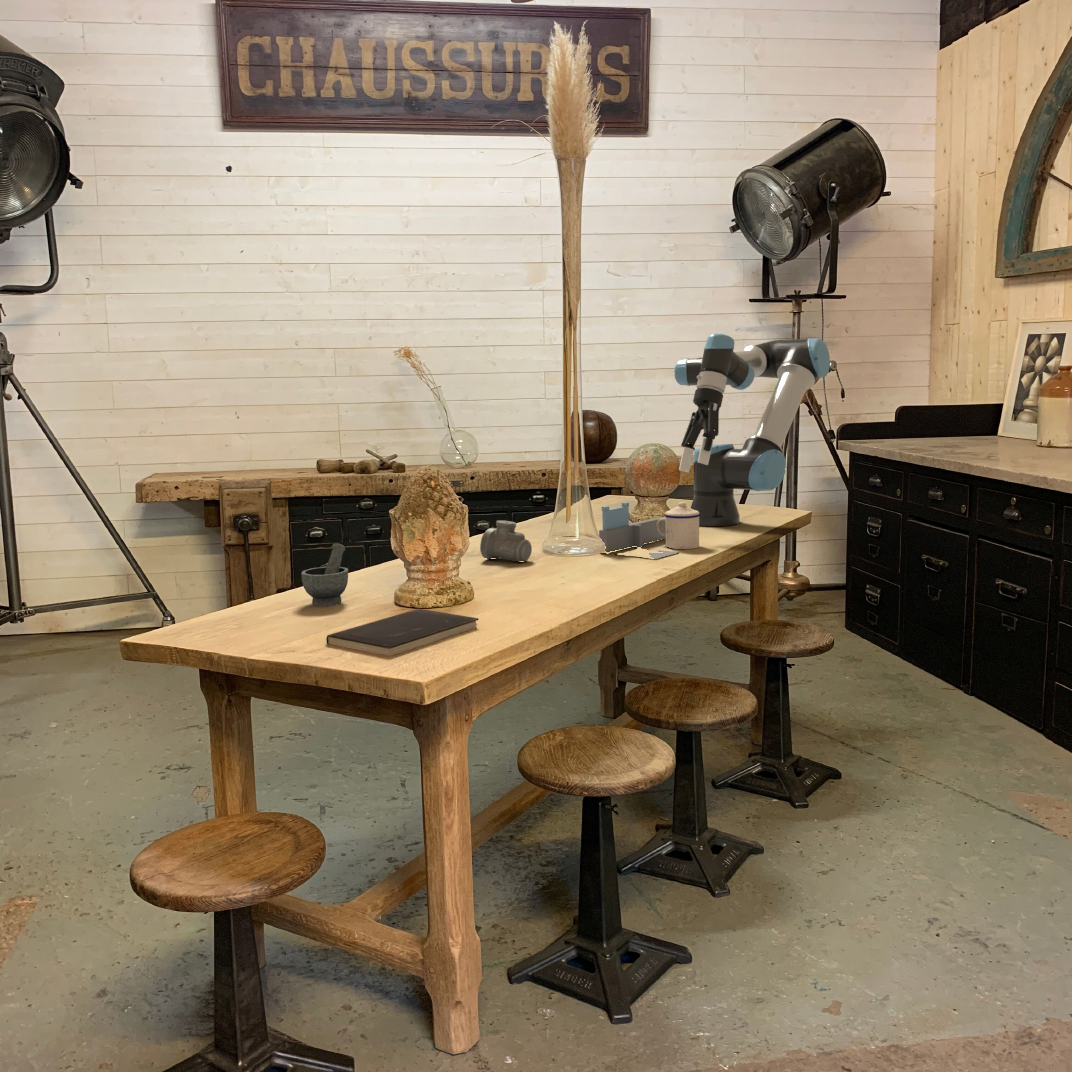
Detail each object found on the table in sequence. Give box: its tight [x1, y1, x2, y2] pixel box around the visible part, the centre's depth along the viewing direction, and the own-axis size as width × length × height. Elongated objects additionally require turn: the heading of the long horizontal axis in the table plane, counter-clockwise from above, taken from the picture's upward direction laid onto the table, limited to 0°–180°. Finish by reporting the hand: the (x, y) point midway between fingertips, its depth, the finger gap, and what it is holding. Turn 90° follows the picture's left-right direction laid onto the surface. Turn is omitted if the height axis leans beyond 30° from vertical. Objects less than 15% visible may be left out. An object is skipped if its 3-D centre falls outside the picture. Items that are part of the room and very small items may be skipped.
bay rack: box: [598, 516, 680, 560], centre depth 267 cm, size 27×17×6 cm, turn 138°
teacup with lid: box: [657, 501, 700, 550], centre depth 269 cm, size 12×9×12 cm
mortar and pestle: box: [300, 543, 349, 607], centre depth 216 cm, size 11×9×12 cm
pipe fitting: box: [479, 520, 533, 562], centre depth 257 cm, size 12×8×10 cm
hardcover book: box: [325, 608, 480, 657], centre depth 188 cm, size 16×23×2 cm
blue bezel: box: [601, 501, 630, 531], centre depth 265 cm, size 10×1×6 cm, turn 138°
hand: (693, 467), depth 272 cm, fingers open, 13 cm apart
